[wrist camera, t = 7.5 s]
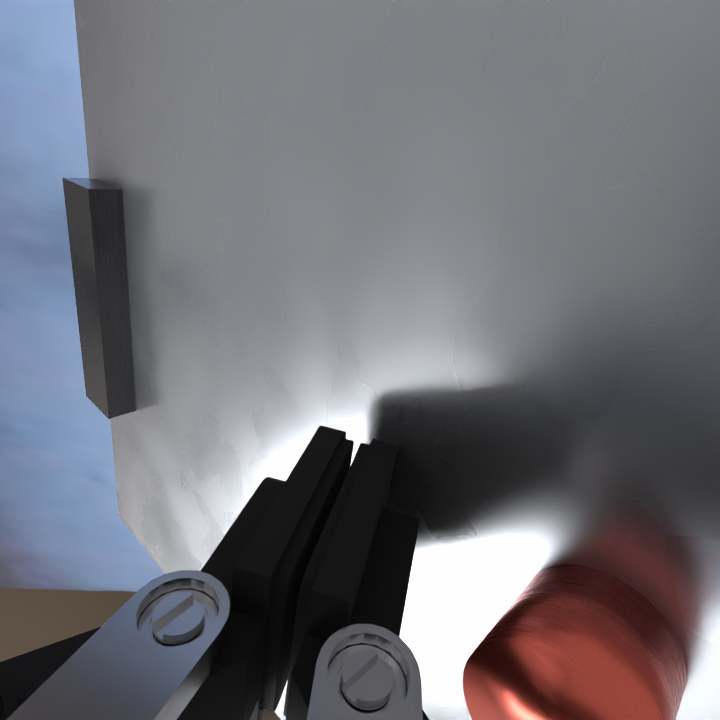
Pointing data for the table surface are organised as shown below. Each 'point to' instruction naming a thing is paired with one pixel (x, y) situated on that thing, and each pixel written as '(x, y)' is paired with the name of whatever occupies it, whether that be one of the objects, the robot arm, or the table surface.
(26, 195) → the table surface
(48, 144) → the table surface
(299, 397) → the cooker lid
